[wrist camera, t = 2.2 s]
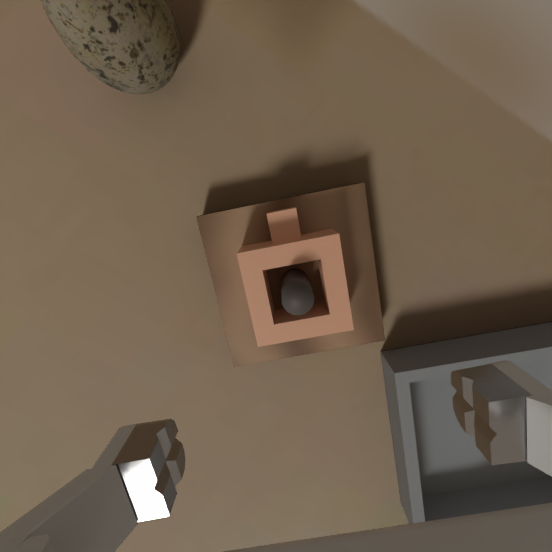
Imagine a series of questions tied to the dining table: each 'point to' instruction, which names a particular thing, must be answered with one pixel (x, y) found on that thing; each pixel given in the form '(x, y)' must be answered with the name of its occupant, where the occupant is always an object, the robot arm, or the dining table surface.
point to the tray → (458, 426)
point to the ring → (290, 251)
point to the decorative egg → (120, 40)
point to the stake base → (310, 220)
